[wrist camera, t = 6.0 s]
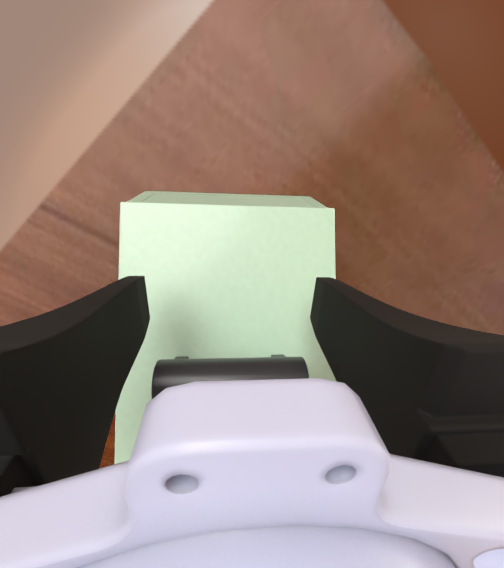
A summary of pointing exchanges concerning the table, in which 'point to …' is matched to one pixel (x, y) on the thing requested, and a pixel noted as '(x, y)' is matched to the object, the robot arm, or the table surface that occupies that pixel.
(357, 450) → the robot arm
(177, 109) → the table surface
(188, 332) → the lid
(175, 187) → the table surface
